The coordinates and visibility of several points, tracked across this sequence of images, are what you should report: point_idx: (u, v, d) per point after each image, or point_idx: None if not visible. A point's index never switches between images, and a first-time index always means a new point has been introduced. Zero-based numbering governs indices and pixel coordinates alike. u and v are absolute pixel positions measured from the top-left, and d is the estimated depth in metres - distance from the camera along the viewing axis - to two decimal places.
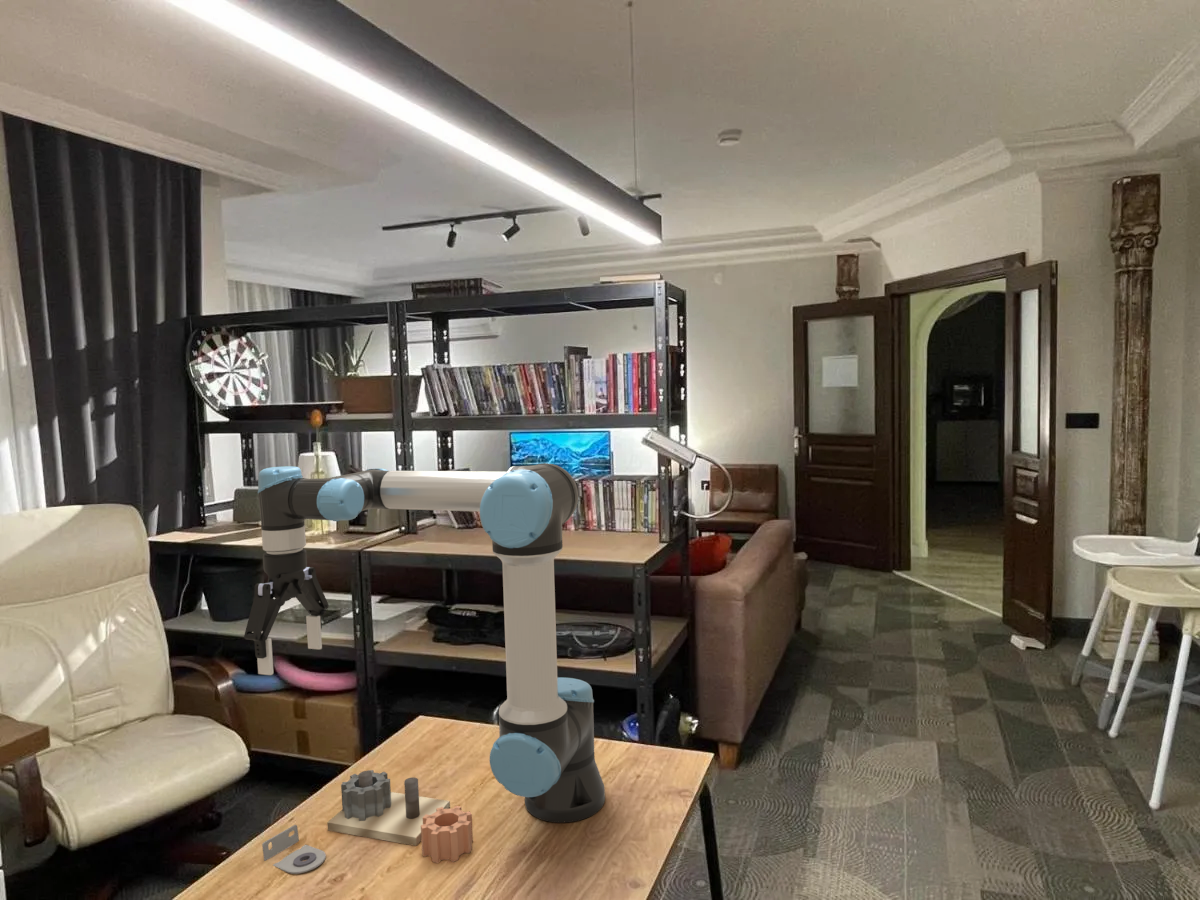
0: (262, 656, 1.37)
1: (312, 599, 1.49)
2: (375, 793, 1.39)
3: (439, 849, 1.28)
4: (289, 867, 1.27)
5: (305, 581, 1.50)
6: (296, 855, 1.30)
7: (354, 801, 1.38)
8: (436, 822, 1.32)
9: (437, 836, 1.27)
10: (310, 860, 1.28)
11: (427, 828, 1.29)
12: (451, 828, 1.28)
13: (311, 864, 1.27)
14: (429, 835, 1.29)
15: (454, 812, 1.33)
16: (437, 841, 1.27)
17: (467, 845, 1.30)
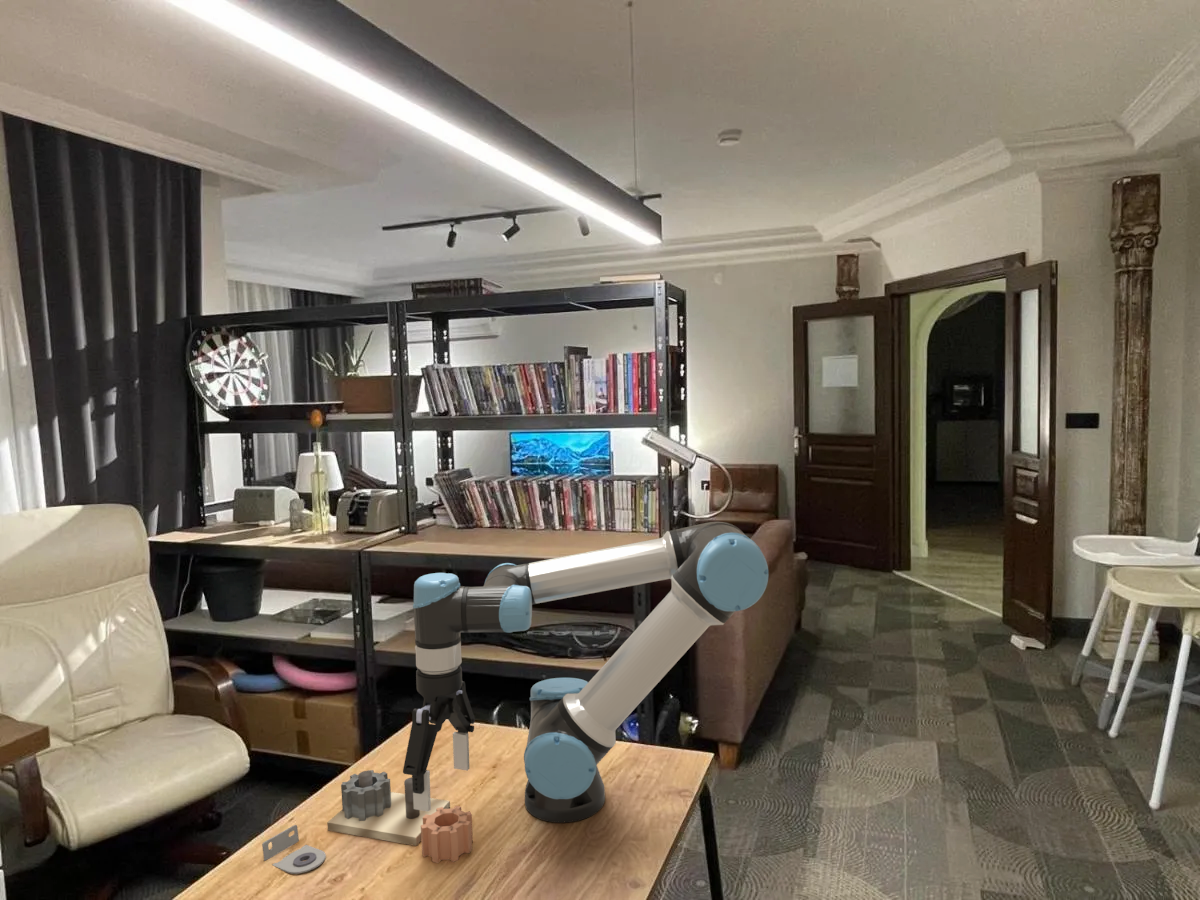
0: (421, 791, 1.22)
1: (462, 716, 1.35)
2: (375, 793, 1.39)
3: (439, 849, 1.28)
4: (289, 867, 1.27)
5: None
6: (296, 855, 1.30)
7: (354, 801, 1.38)
8: (436, 822, 1.32)
9: (437, 836, 1.27)
10: (310, 860, 1.28)
11: (427, 828, 1.29)
12: (451, 828, 1.28)
13: (311, 864, 1.27)
14: (429, 835, 1.29)
15: (454, 812, 1.33)
16: (437, 841, 1.27)
17: (467, 845, 1.30)
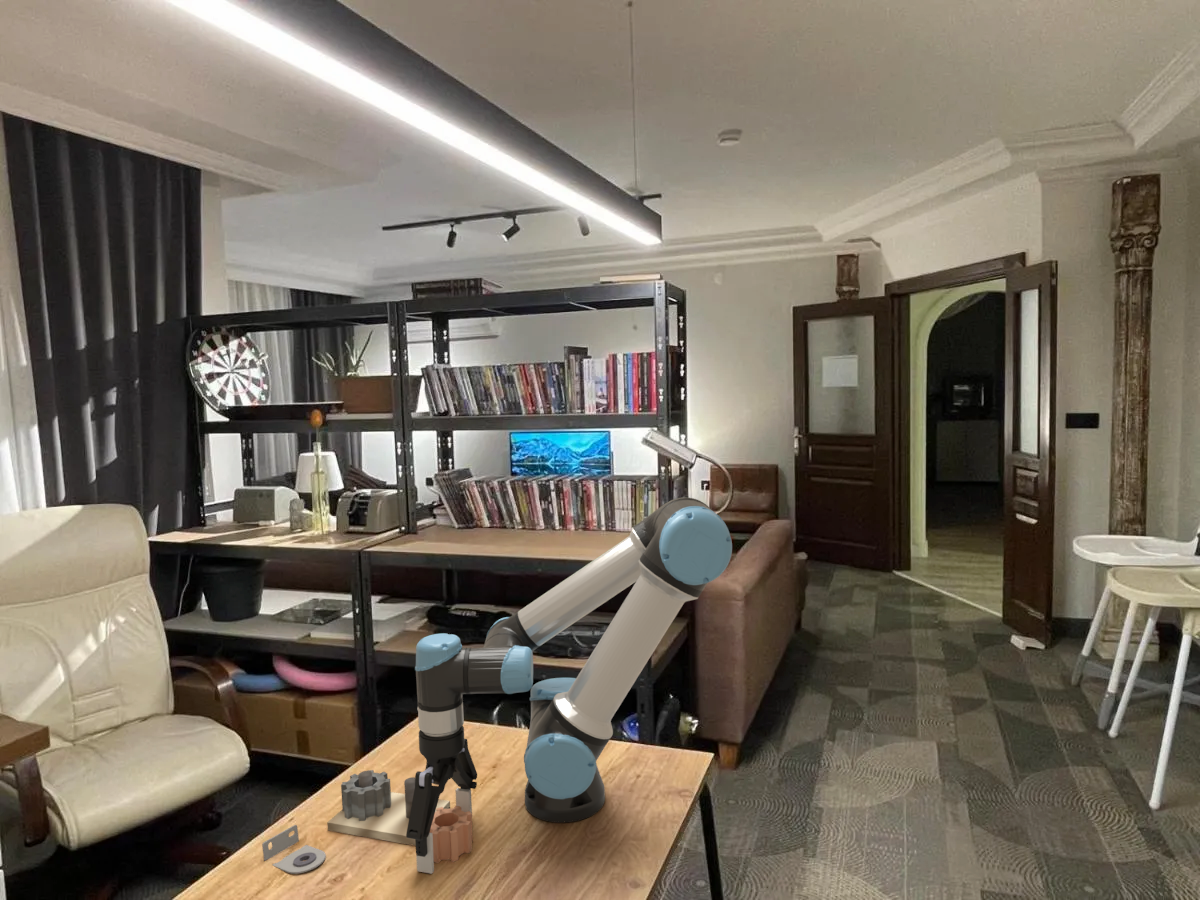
0: (424, 854, 1.23)
1: (465, 773, 1.35)
2: (375, 793, 1.39)
3: (439, 849, 1.28)
4: (289, 867, 1.27)
5: None
6: (296, 855, 1.30)
7: (354, 801, 1.38)
8: (436, 822, 1.32)
9: (437, 836, 1.27)
10: (310, 860, 1.28)
11: None
12: (451, 828, 1.28)
13: (311, 864, 1.27)
14: None
15: (454, 812, 1.33)
16: (437, 841, 1.27)
17: (467, 845, 1.30)
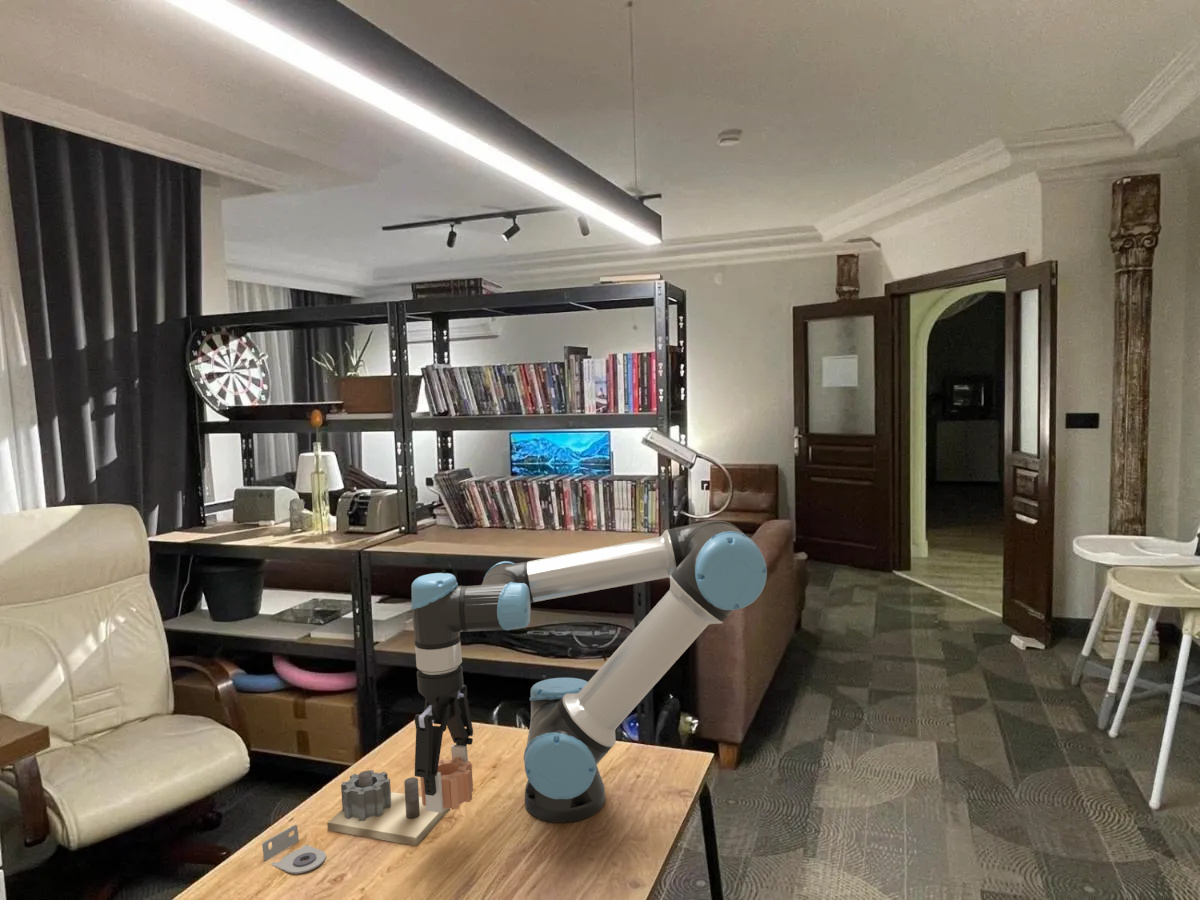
0: (433, 793, 1.25)
1: (462, 724, 1.33)
2: (375, 793, 1.39)
3: None
4: (289, 867, 1.27)
5: None
6: (296, 855, 1.30)
7: (354, 801, 1.38)
8: None
9: None
10: (310, 860, 1.28)
11: None
12: (451, 776, 1.28)
13: (311, 864, 1.27)
14: None
15: (454, 762, 1.32)
16: None
17: (467, 794, 1.29)
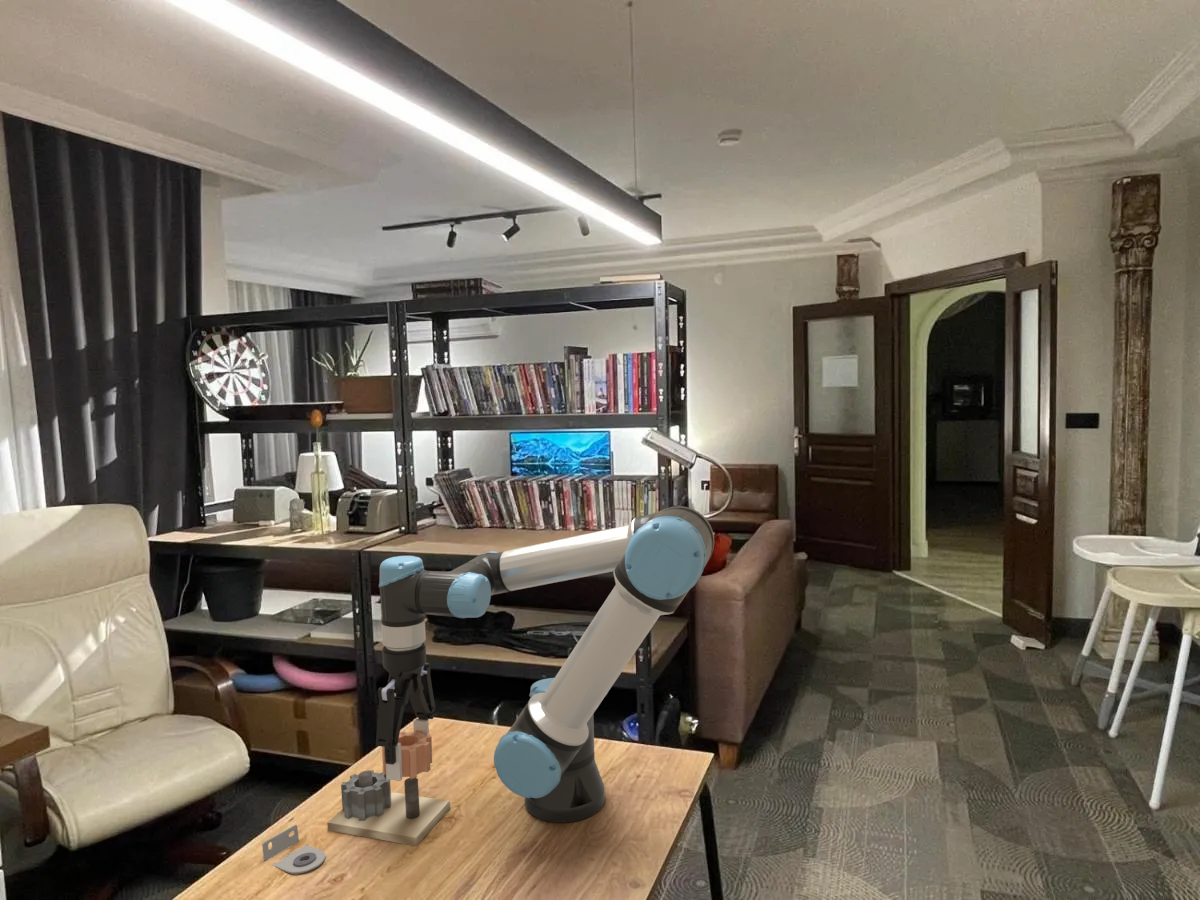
0: (392, 762, 1.32)
1: (424, 699, 1.41)
2: (375, 793, 1.39)
3: None
4: (289, 867, 1.27)
5: None
6: (296, 855, 1.30)
7: (354, 801, 1.38)
8: None
9: None
10: (310, 860, 1.28)
11: None
12: (411, 747, 1.35)
13: (311, 864, 1.27)
14: None
15: (415, 735, 1.40)
16: None
17: (426, 764, 1.37)
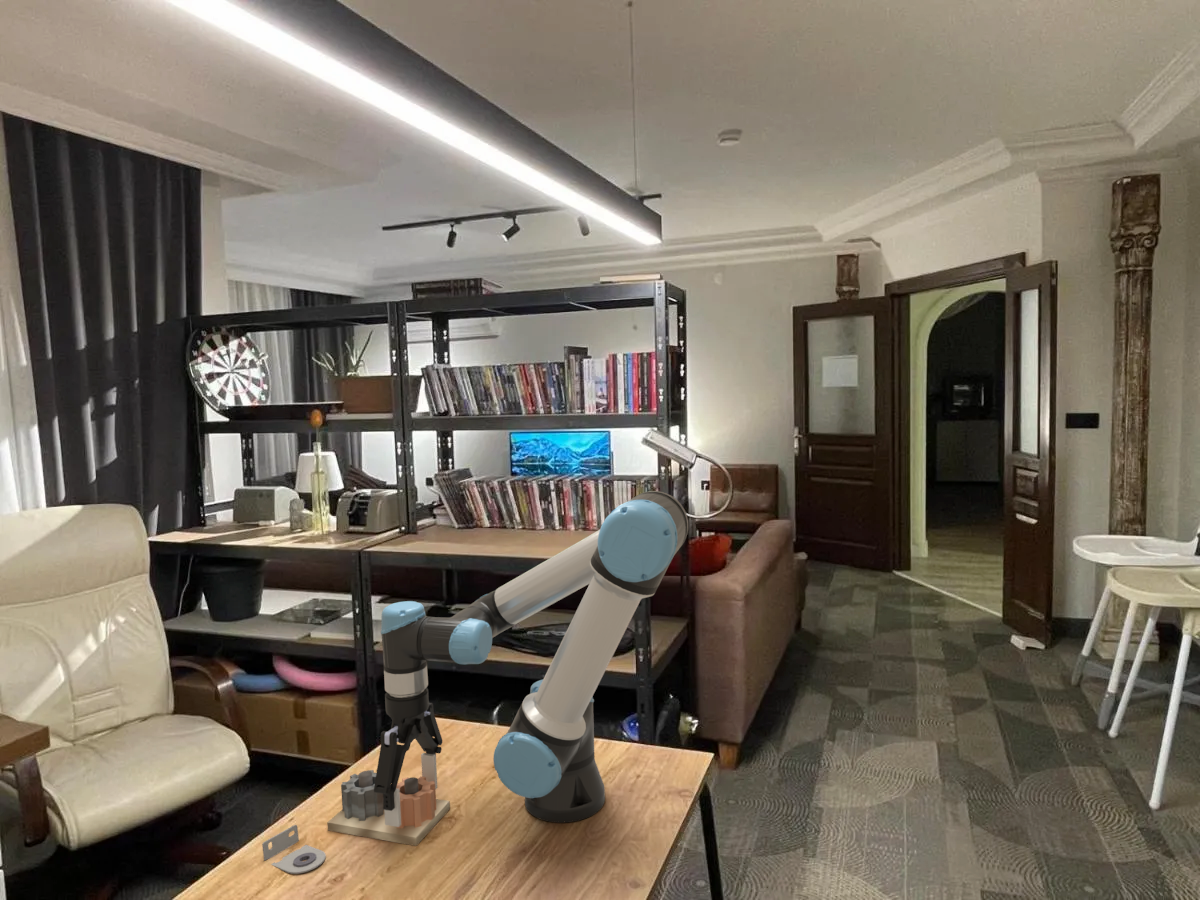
0: (391, 808, 1.31)
1: (430, 737, 1.43)
2: (375, 793, 1.39)
3: (403, 815, 1.35)
4: (289, 867, 1.27)
5: (422, 717, 1.43)
6: (296, 855, 1.30)
7: (354, 801, 1.38)
8: (401, 791, 1.40)
9: (401, 803, 1.35)
10: (310, 860, 1.28)
11: None
12: (414, 796, 1.36)
13: (311, 864, 1.27)
14: None
15: (419, 782, 1.41)
16: (401, 808, 1.35)
17: (430, 812, 1.37)
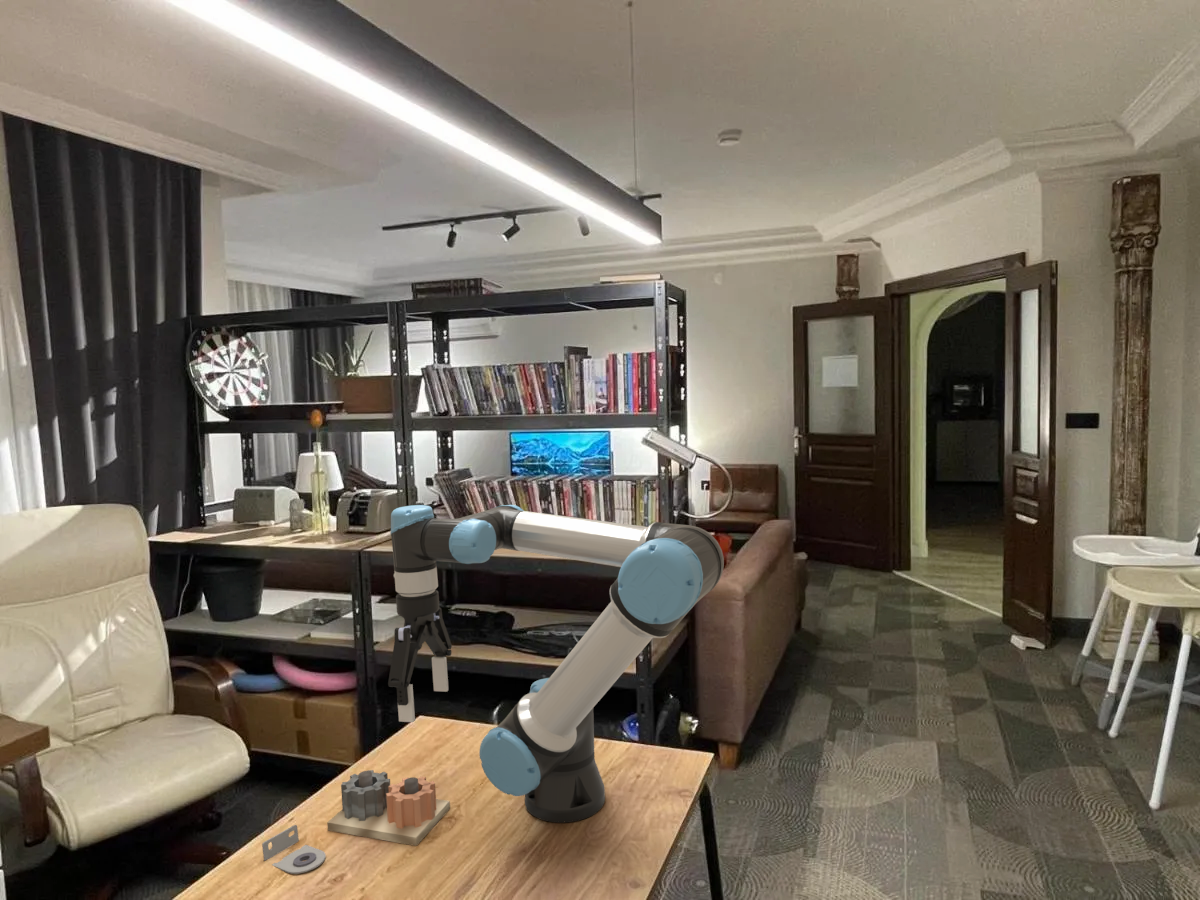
0: (405, 703, 1.32)
1: (440, 640, 1.45)
2: (375, 793, 1.39)
3: (403, 815, 1.35)
4: (289, 867, 1.27)
5: None
6: (296, 855, 1.30)
7: (354, 801, 1.38)
8: (401, 791, 1.40)
9: (401, 803, 1.35)
10: (310, 860, 1.28)
11: (392, 796, 1.37)
12: (414, 796, 1.36)
13: (311, 864, 1.27)
14: (394, 802, 1.36)
15: (419, 782, 1.41)
16: (401, 808, 1.35)
17: (430, 812, 1.37)
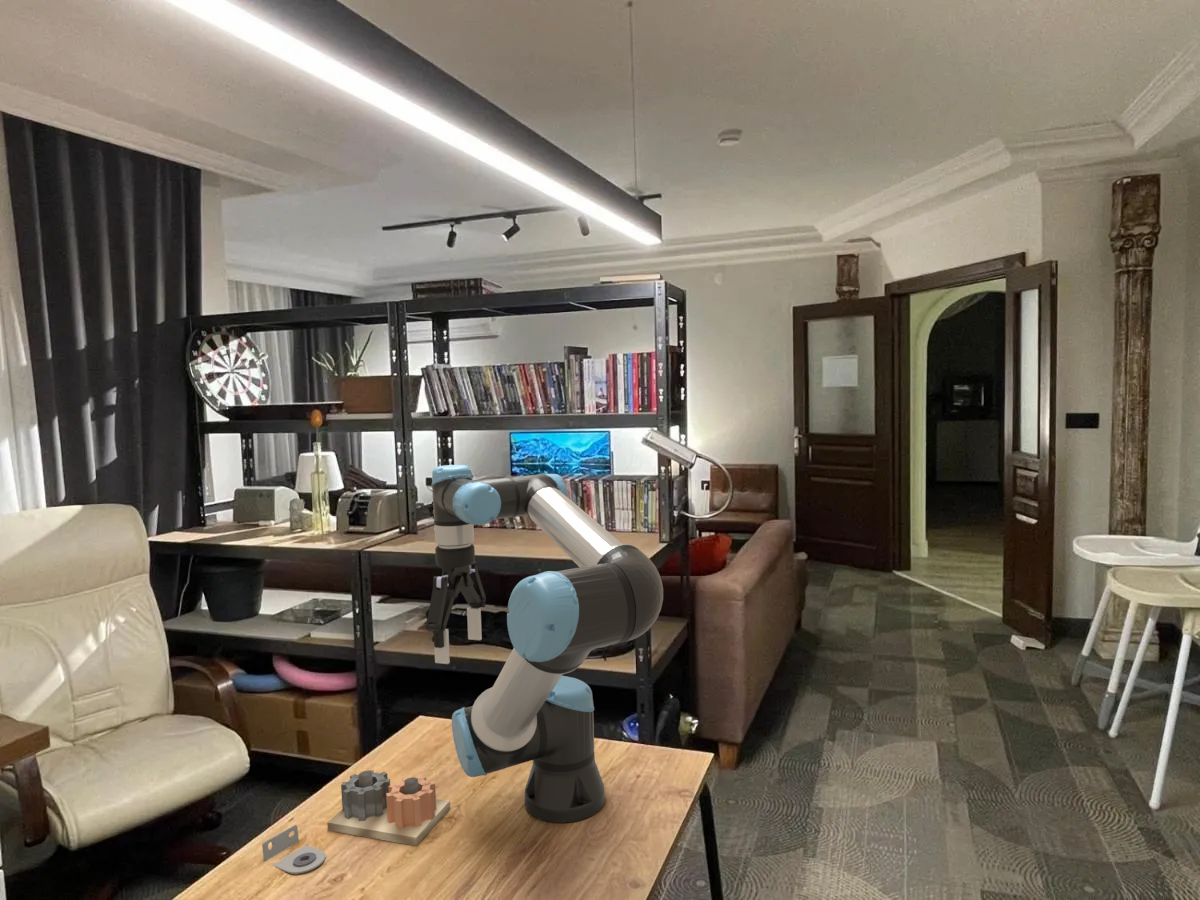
0: (441, 646, 1.43)
1: (475, 591, 1.55)
2: (375, 793, 1.39)
3: (403, 815, 1.35)
4: (289, 867, 1.27)
5: None
6: (296, 855, 1.30)
7: (354, 801, 1.38)
8: (401, 791, 1.40)
9: (401, 803, 1.35)
10: (310, 860, 1.28)
11: (392, 796, 1.37)
12: (414, 796, 1.36)
13: (311, 864, 1.27)
14: (394, 802, 1.36)
15: (419, 782, 1.41)
16: (401, 808, 1.35)
17: (430, 812, 1.37)
